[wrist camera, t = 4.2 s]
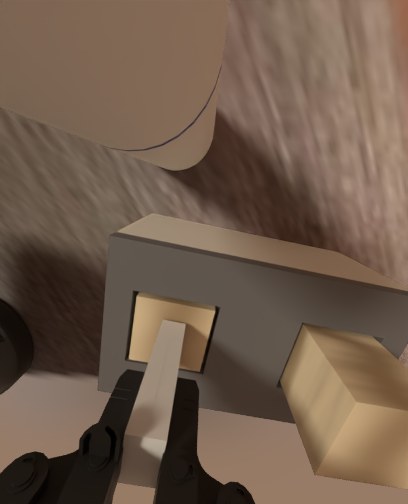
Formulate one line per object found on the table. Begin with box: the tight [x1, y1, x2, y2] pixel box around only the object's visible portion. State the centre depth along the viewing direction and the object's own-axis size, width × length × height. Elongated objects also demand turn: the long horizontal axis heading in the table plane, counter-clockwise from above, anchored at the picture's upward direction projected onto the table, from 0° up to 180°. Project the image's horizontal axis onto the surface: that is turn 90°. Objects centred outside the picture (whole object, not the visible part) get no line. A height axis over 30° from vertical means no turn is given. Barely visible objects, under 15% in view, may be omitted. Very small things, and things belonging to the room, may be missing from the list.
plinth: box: [98, 213, 408, 424], centre depth 19 cm, size 20×12×10 cm, turn 78°
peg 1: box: [129, 292, 215, 372], centre depth 18 cm, size 5×5×8 cm
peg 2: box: [279, 323, 408, 489], centre depth 14 cm, size 5×5×8 cm
